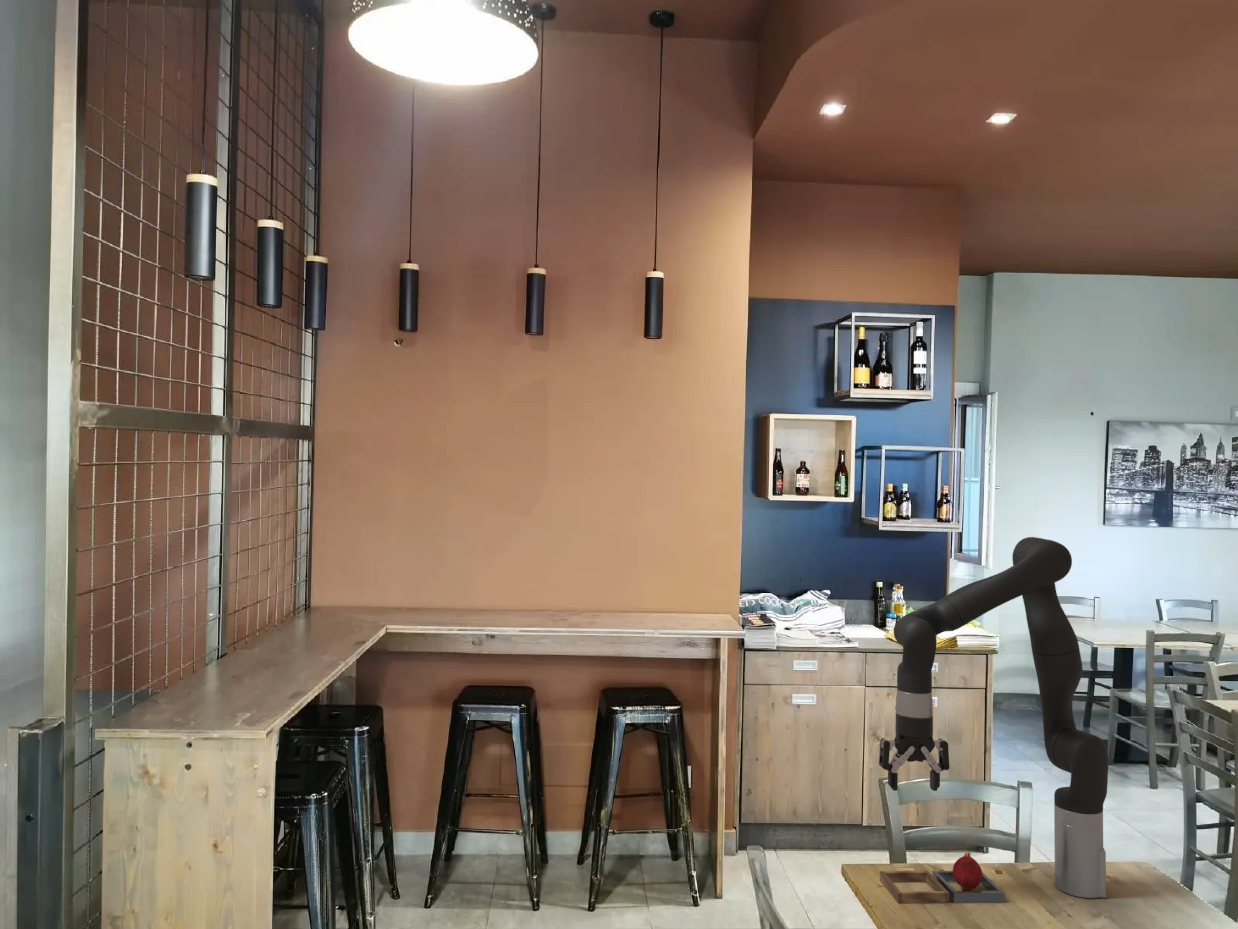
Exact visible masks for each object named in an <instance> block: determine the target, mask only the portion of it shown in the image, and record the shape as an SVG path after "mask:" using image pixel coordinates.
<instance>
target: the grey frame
mask: <svg viewBox="0 0 1238 929" xmlns="http://www.w3.org/2000/svg"><path fill="white" fill-rule="evenodd" d="M932 876H933V877H934V878H935V879H936V880H937V881H938V882H939V883H940V884H941V885H942V886H943V887H944V888H945V889H946V890H947V891H948V892H949V900H951V901H952V903H953V904H962V903H963V904H970V903H971V904H972V903H975V904H976V903H980V904H981V903H982V904H984V903H985V904H987V903H992V904H993V903H1001V904H1002V903H1005V902H1006V901H1005V895H1006V894H1005V892H1004V891H1003V889H1001V887H999V886H998V885H997V884H996V883H994V882H993V880H992V879H991V878H989V877H988V876H987V875H986V874H985V873H984V872H983V871H982V881H981V883H980V885H981V886H982V887H984V888H985V889H986V890H971V891H965V890H956V889H955V888H954V887H953V886H952V885H951V884H950V882H947V881H955V878H954V876H953V870H932Z"/></svg>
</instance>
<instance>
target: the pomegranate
mask: <svg viewBox="0 0 1238 929" xmlns="http://www.w3.org/2000/svg"><path fill="white" fill-rule="evenodd" d="M952 871H953V876H954V878H955V881H956V883H957V885H959V887H961V889H963V891H973V890H974V889H975V888H978V886H980V885H981V881H982V872H983V871H982V867H981V866H980V865H979V863H978V862H977V860H976V859H974V857H972V855H971V853H970V852H969V851H966V852H965V853H964V855H963V856H961V857H959V858H958V859H957V860H956V861H955V862H954V864H953V866H952Z"/></svg>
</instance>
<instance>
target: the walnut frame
mask: <svg viewBox="0 0 1238 929" xmlns="http://www.w3.org/2000/svg"><path fill="white" fill-rule="evenodd" d="M879 882H880V883H881V884H882V885H883V887H884V888H885V889H886V890H887V892H888V893H889V894H890V895H891V896H892V898H893V899H894V900H895V902H897V904H950V898H949V892H948V891H947V890H946V889H945V888H944V887H943V886H942V885H941V884H940V883H939V882H938V881H937V880H936V879H935V878H934V877H933V873H932V872H930V871H929V870H887V871H886V870H885V871H884V870H880V871H879ZM895 883H926V884H927V883H928V884H927V885H928V886H929V887H930V886H931V887H930V888H931V889H932V891H931V890H930V891H925V890H924V891H923V890H922V891H921V890H919V891H914V890H913V891H912V890H911V891H909V890H908V891H901V890H900V889H899V888H898V886H897V885H896V884H895Z"/></svg>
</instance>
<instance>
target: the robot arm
mask: <svg viewBox="0 0 1238 929" xmlns="http://www.w3.org/2000/svg"><path fill="white" fill-rule="evenodd" d="M1011 556H1012V557H1011V558H1012V566H1010V567H1009V568H1007V569H1005V570H1003V571H1001V572H998V573H996V574H994V575H991V576H989V577H985V578H983V579H979V580H976V581H974V582H970V583H968V584H965V585H964V586H962V587H959V588H956V590H953V591H952V592H950V593H948V594H946V595H945V596H943V597H941V598H940V599H939V600H937V601H935V602H933V603H930V604H928V605H926V606H923V607H921V608H918V609H915V610H913V611H910V612H909V613H907V614H905V615H903V616H902V617H901V618H899V619H898V620H897V622H896V623H895V624H894V627H893V637H894V639H895V641H896V642H897V643H898V645H901V646H902V661H901V662H900V663H898V666H897V672H896V673H897V674H896V687H897V688H896V695H895V696H896V697H895V707H894V710H895V738H894V739H890V740H889V739H886V738H885V737H882V738H880V741H879V742H880V743H879V757H878V759H879V760H878V766H880V767H881V768H882V769H883V770H885V771H887V784H888V787H890V789H891V790H892V791H898V782H899V781H898V778H899V777H898V770H899V769H900V768H901V767H902V766H904V765H905V763H906V762H908V763H909V762H910V763H913V762H919V763H924V762H926V763H927V765H928V766H929V768H930V770H929V788H930V790H931V791H934V792H937V791H938V789H939V788H940V785H941V783H940V782H941V772H943V771H949V769H950V754H949V752H950V751H949V743H948V742H947V741H946V740H945V739H943V738H938V739H937V740H935V739H934V737H933V735H934V700H933V689H932V688H933V683H932V682H933V674H932V671H933V666H934V663H935V657H936V652H937V644H938V643H937V635H940V634H942V633H945V632H953V631H957V630H959V629H960V628H962V627H964V626H966V625H967V624H970V623H971V622H973V621H974V620H976V619H978V618H979V617H981V616H983V615H985V614H987V613H988V612H990V611H992V610H994V609H995V608H998V607H999V606H1001V605H1004V604H1005V603H1008V602H1010V601H1013V600H1015V599H1017V598H1019V597H1022V601H1023V604H1024V610H1025V616H1026V617H1025V618H1026V624H1027V628H1028V633H1029V634H1028V635H1029V640H1030V647H1031V652H1032V658H1033V664H1034V668H1035V673H1036V677H1037V683H1038V690H1039V697H1040V703H1041V710H1042V711H1041V712H1042V725H1043V727H1042V728H1043V738H1044V748H1045V749H1044V750H1045V753H1046V756H1047V758H1048V761H1049V762H1050V763H1051V764H1052V765H1054V766H1055V767H1056V768H1058V769H1059V770H1062V771H1063V772H1064V771H1065V772H1067V773H1070V784H1069V786H1062V787H1058V788H1057V789H1055V790H1054V794H1053V795H1054V797H1053V800H1054V802H1053V803H1054V805H1053V806H1054V808H1053V810H1054V817H1053V818H1054V825H1053V826H1054V829H1053V830H1054V835H1053V836H1054V837H1053V838H1054V875H1053V876H1054V885H1055V887H1056V888H1057V889H1058V890H1060V891H1062V892H1064V893H1066V894H1068V895H1071V896H1074V897H1078V898H1084V899H1096V898H1104V899H1106V898H1107V863H1106V862H1107V856H1106V855H1107V853H1106V852H1107V851H1106V850H1105V847H1104V803H1105V800H1106V798H1107V796H1108V795H1107V794H1108V782H1109V781H1108V779H1109V777H1108V776H1109V752H1108V749H1107V746H1106V743H1105V742H1104V740H1103V739H1101V737H1099V736H1097V735H1094V734H1092V733H1089V732H1086V731H1082V730H1080V729H1077V726H1076V723H1075V718H1074V712H1073V699H1074V697H1075V693H1076V691H1077V688H1078V686H1079V685H1080V682H1081V679H1082V675H1083V661H1082V656H1081V650H1080V645H1079V641H1078V638H1077V635H1076V632H1075V630H1074V628H1073V626H1072V625H1071V622H1070V620H1069V618H1068V617H1067V615H1066V613H1065V611H1064V609H1063V607H1062V605H1061V602H1060V600H1059V596H1058V593H1057V587H1056V583H1057V582H1059V581H1062V580H1063V579H1064V578H1065V577H1066V576H1067V575H1068V574H1069V573H1070V571H1071V569H1072V565H1073V558H1072V554H1071V552H1070V550H1069V549H1068V548H1067V547H1066V546H1065V545H1064V544H1062V543H1060V542H1058V541H1055V540H1053V539H1052V540H1050V539H1045V538H1042V537H1037V536H1036V537H1035V536H1028V537H1024V538H1023V539H1021V540H1019V541H1018V542H1017V543H1016V545H1015V546H1014V549H1013V551H1012V555H1011ZM893 747H894V748H895V749H896V752H895V753H894V754H893V755H892V757H891V760H890V752H891V751H892V750H893ZM934 748H935V749H936V750H937V752H938V762H937V761H936V760H935V758H934V757H933V756H932V754H931V753H932V751H933V750H934Z"/></svg>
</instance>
